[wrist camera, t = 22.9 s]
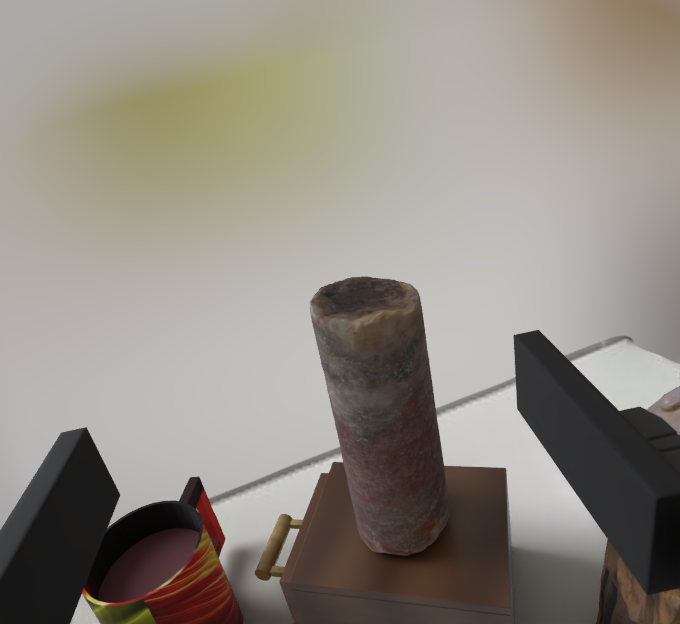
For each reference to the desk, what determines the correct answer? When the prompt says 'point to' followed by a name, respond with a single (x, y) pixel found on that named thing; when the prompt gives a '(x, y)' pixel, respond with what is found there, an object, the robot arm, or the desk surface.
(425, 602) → the dresser
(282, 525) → the dresser drawer
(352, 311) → the candle
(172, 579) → the mug
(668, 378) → the desk surface
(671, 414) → the sculpture
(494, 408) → the desk surface
